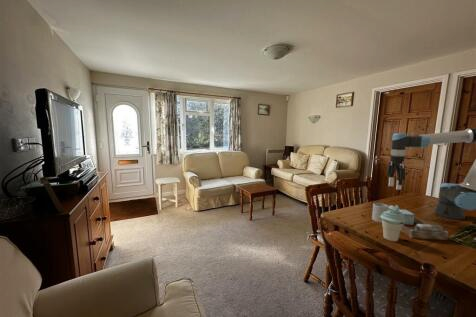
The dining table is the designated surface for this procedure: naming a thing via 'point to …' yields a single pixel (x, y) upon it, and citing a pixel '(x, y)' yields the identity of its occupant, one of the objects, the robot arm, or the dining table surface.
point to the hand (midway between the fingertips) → (394, 187)
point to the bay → (425, 230)
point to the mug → (378, 211)
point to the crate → (408, 217)
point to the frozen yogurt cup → (392, 223)
